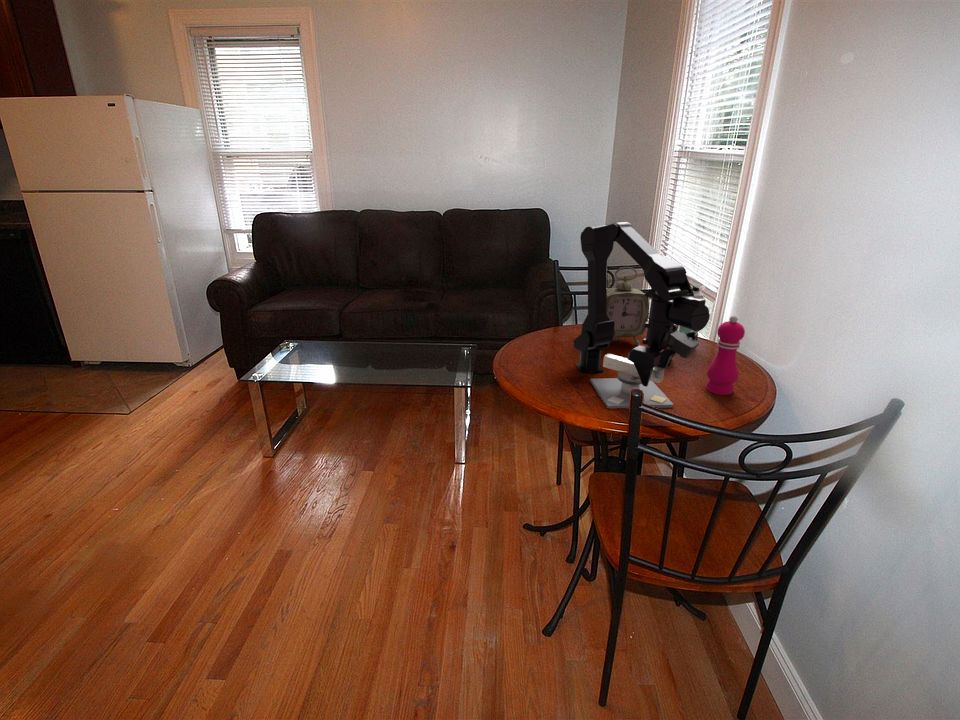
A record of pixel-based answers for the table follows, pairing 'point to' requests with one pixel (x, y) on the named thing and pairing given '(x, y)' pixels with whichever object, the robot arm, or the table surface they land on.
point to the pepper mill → (725, 358)
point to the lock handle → (630, 370)
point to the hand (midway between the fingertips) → (652, 380)
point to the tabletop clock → (627, 308)
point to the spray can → (696, 295)
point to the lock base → (615, 391)
